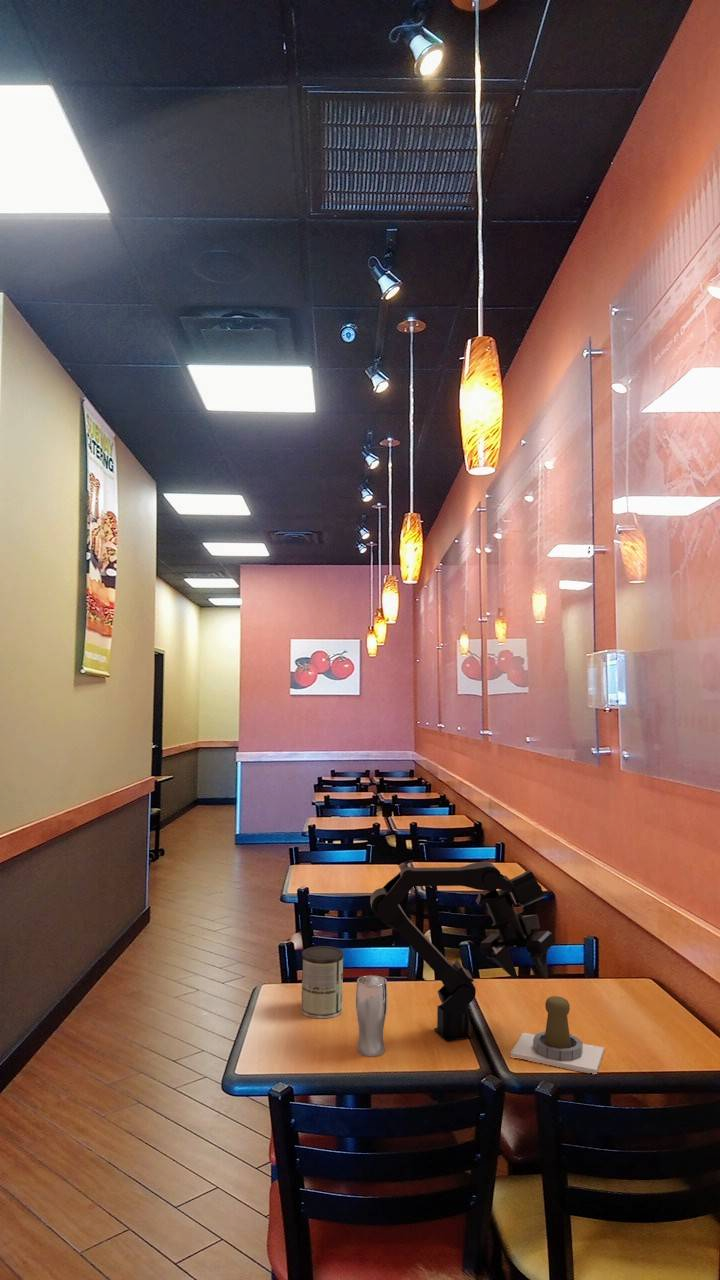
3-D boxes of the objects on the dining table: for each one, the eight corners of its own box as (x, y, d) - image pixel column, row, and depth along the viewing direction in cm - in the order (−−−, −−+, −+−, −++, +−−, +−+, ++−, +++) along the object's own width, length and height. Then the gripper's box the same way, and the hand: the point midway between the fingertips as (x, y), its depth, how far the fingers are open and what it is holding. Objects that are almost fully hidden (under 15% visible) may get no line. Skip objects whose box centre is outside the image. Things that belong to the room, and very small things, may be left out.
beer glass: (355, 1043, 180) (356, 974, 182) (386, 1044, 180) (387, 975, 181) (354, 1057, 174) (355, 985, 175) (386, 1058, 173) (387, 986, 174)
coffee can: (296, 1005, 202) (297, 947, 203) (335, 1001, 206) (336, 944, 207) (306, 1021, 193) (308, 960, 194) (347, 1016, 196) (349, 956, 197)
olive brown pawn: (555, 1058, 173) (555, 1005, 173) (537, 1046, 178) (537, 995, 179) (577, 1053, 175) (577, 1000, 176) (559, 1042, 181) (559, 991, 182)
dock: (510, 1057, 175) (510, 1043, 175) (522, 1037, 186) (522, 1023, 186) (596, 1074, 167) (596, 1059, 168) (604, 1052, 178) (604, 1038, 179)
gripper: (553, 895, 188) (580, 959, 187) (493, 901, 201) (518, 960, 200) (527, 919, 180) (555, 985, 179) (467, 923, 193) (493, 984, 193)
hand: (530, 977), depth 188 cm, fingers open, 9 cm apart
